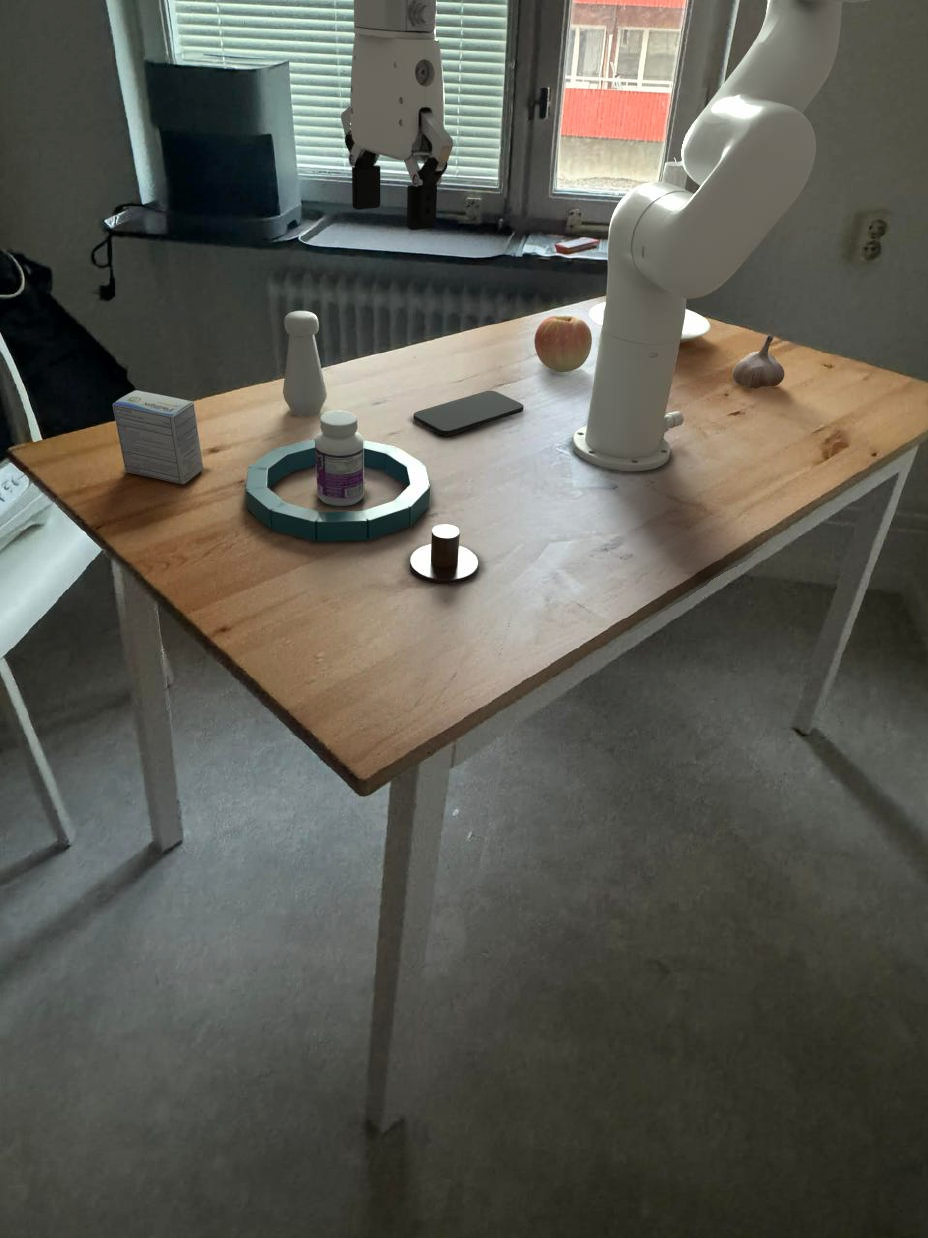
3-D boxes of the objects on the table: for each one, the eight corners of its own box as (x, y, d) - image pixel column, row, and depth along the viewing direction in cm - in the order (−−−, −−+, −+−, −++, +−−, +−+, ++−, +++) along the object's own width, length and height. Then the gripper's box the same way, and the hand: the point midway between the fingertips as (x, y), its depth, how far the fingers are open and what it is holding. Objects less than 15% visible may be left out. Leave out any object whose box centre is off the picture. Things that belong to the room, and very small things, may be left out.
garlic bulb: (785, 384, 139) (800, 333, 134) (772, 398, 133) (786, 346, 129) (738, 372, 142) (751, 322, 137) (723, 386, 136) (736, 334, 132)
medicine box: (204, 470, 104) (195, 400, 99) (183, 486, 101) (172, 415, 96) (147, 457, 106) (135, 388, 101) (124, 473, 103) (110, 402, 97)
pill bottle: (318, 485, 103) (315, 406, 97) (364, 485, 103) (363, 407, 98) (316, 507, 99) (312, 426, 93) (364, 508, 99) (363, 427, 93)
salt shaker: (318, 421, 117) (314, 323, 109) (277, 415, 118) (270, 317, 110) (332, 405, 122) (330, 309, 114) (293, 399, 123) (287, 304, 115)
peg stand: (449, 540, 95) (451, 507, 92) (492, 570, 90) (495, 536, 88) (396, 559, 91) (396, 525, 89) (437, 591, 87) (439, 557, 84)
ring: (364, 443, 113) (364, 425, 111) (462, 508, 100) (464, 489, 99) (217, 482, 102) (215, 463, 101) (307, 561, 90) (306, 541, 88)
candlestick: (548, 338, 150) (570, 154, 133) (628, 310, 165) (656, 142, 149) (653, 373, 139) (690, 177, 123) (727, 340, 155) (769, 162, 138)
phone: (409, 413, 119) (491, 388, 127) (409, 419, 119) (490, 394, 128) (445, 432, 115) (527, 405, 123) (445, 438, 115) (526, 411, 123)
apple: (551, 381, 134) (557, 328, 129) (521, 361, 140) (526, 310, 135) (598, 374, 137) (606, 323, 132) (567, 355, 143) (574, 305, 139)
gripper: (486, 25, 78) (474, 232, 88) (375, 11, 88) (375, 198, 98) (418, 23, 74) (413, 240, 84) (310, 9, 84) (317, 203, 94)
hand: (393, 217), depth 91 cm, fingers open, 9 cm apart
